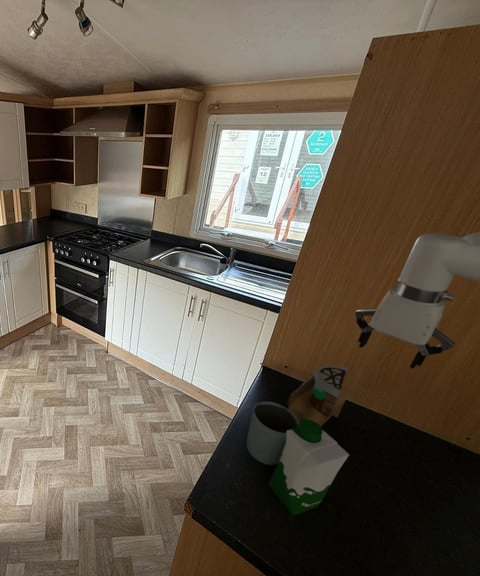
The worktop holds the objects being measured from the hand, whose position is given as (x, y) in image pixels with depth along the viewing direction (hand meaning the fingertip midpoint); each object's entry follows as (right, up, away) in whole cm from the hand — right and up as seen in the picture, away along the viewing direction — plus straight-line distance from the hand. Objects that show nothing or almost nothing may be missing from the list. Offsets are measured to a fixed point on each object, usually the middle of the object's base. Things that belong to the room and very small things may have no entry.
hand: (386, 355), depth 75 cm
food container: (-8, -16, +12) cm, 21 cm away
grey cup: (-26, -26, +7) cm, 38 cm away
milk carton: (-25, -31, -4) cm, 40 cm away
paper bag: (-8, -22, +15) cm, 28 cm away
